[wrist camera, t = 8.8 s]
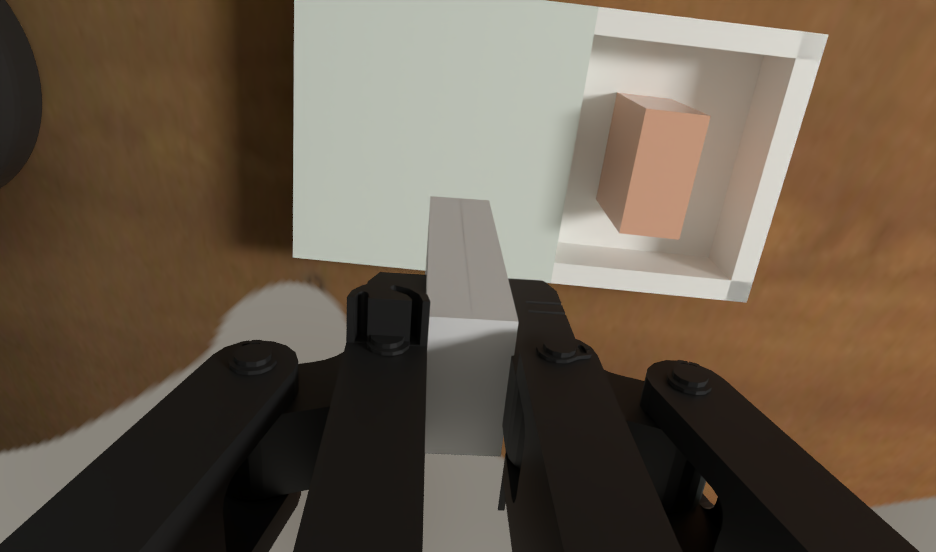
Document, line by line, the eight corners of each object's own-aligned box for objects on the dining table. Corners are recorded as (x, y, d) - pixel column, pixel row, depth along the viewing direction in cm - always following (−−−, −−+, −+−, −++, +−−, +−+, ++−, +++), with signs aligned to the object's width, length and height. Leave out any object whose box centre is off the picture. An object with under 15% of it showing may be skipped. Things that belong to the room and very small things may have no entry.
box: (542, 256, 39) (550, 282, 35) (583, 7, 33) (598, 6, 30) (719, 274, 39) (746, 302, 36) (788, 31, 34) (828, 34, 30)
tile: (619, 233, 31) (679, 239, 32) (646, 108, 29) (710, 116, 29) (596, 199, 37) (646, 204, 37) (616, 92, 35) (671, 98, 35)
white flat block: (309, 233, 38) (292, 257, 34) (313, -26, 33) (294, -30, 29) (542, 256, 39) (550, 282, 35) (583, 7, 33) (598, 6, 30)
